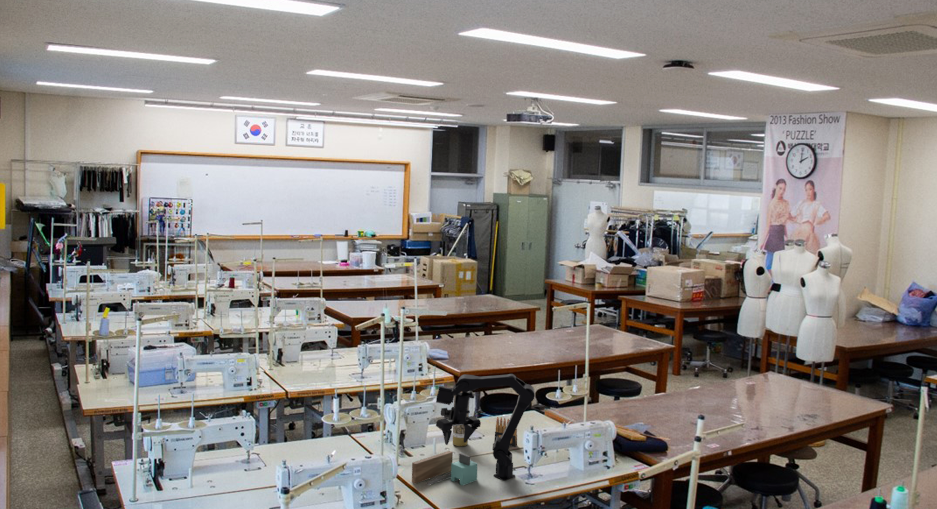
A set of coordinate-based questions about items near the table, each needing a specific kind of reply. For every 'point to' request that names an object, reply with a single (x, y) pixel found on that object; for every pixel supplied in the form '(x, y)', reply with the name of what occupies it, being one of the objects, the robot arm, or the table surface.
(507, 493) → the table surface
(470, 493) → the table surface
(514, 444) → the ammunition clip
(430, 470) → the brown wooden beam
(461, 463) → the teal handled box
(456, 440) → the bark textured cylinder
